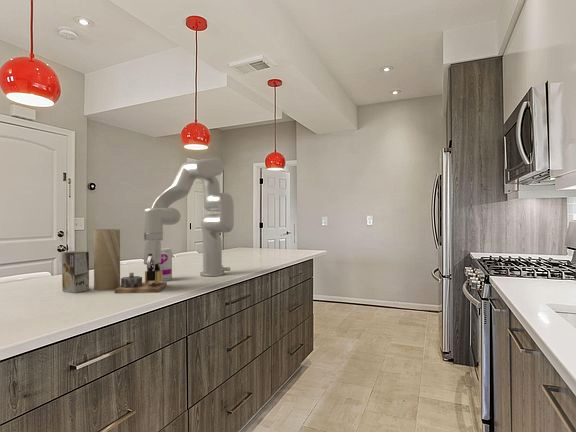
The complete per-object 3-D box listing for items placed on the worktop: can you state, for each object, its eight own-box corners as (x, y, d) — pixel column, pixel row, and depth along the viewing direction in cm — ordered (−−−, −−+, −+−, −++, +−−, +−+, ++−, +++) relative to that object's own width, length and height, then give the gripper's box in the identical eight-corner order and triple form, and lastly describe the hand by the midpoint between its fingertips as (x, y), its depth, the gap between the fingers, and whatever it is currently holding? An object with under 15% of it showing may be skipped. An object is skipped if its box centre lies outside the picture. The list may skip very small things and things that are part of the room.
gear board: (166, 285, 159) (166, 269, 159) (158, 292, 145) (158, 274, 145) (126, 286, 157) (126, 270, 157) (114, 293, 143) (114, 275, 143)
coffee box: (90, 290, 149) (89, 251, 149) (74, 293, 143) (74, 253, 143) (76, 288, 153) (76, 250, 153) (61, 291, 148) (61, 252, 148)
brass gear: (164, 279, 156) (164, 269, 156) (160, 282, 149) (159, 272, 149) (147, 280, 156) (147, 269, 156) (142, 283, 149) (142, 272, 149)
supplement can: (168, 281, 168) (168, 249, 168) (151, 281, 168) (150, 249, 168) (174, 278, 176) (174, 248, 176) (157, 278, 176) (157, 248, 176)
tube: (88, 289, 150) (88, 230, 150) (105, 285, 159) (105, 229, 159) (108, 291, 147) (108, 230, 147) (125, 286, 157) (125, 229, 157)
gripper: (150, 235, 161) (150, 275, 161) (137, 238, 143) (138, 283, 143) (167, 235, 161) (167, 275, 161) (157, 238, 144) (157, 282, 144)
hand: (153, 278), depth 152 cm, fingers closed on brass gear, 6 cm apart
